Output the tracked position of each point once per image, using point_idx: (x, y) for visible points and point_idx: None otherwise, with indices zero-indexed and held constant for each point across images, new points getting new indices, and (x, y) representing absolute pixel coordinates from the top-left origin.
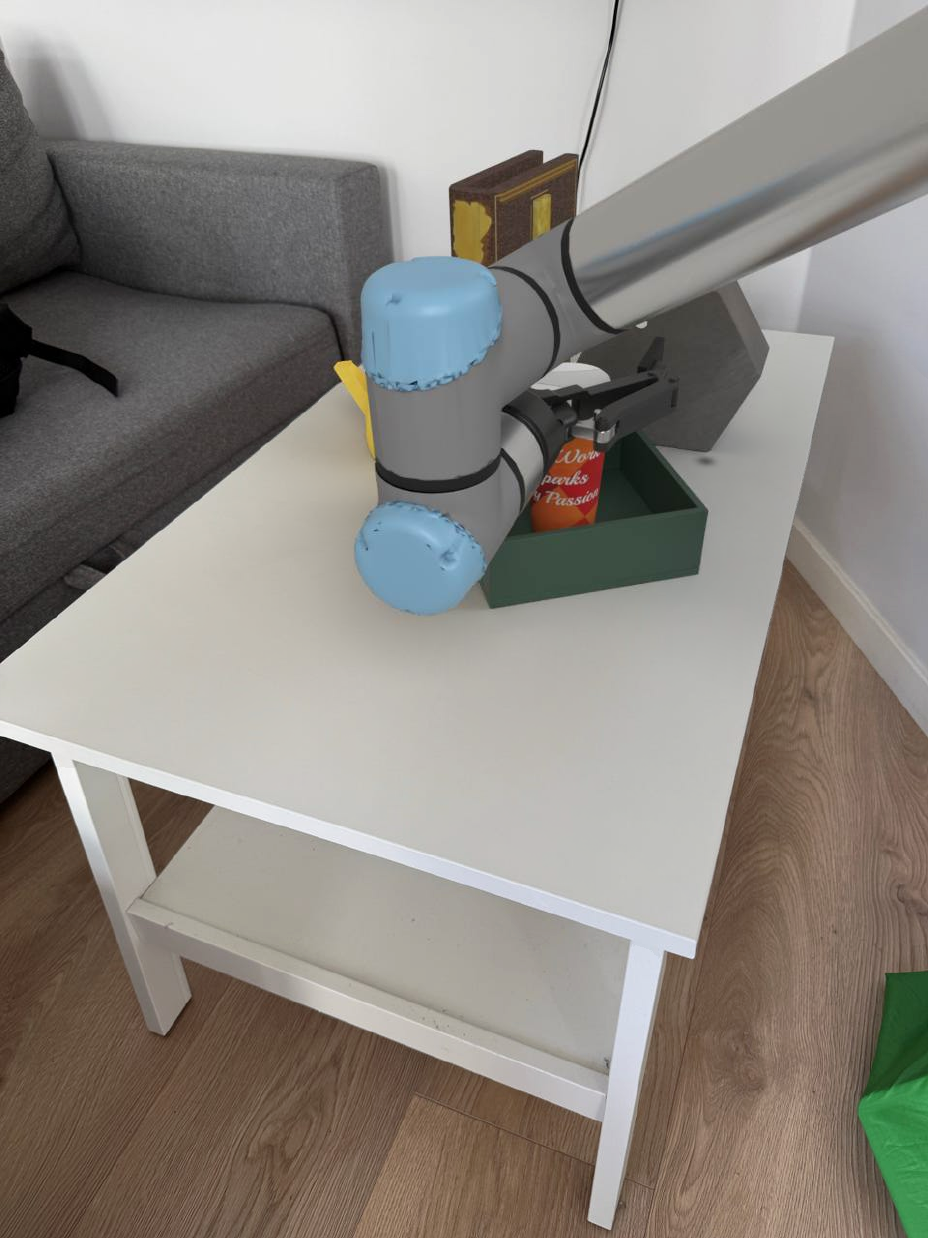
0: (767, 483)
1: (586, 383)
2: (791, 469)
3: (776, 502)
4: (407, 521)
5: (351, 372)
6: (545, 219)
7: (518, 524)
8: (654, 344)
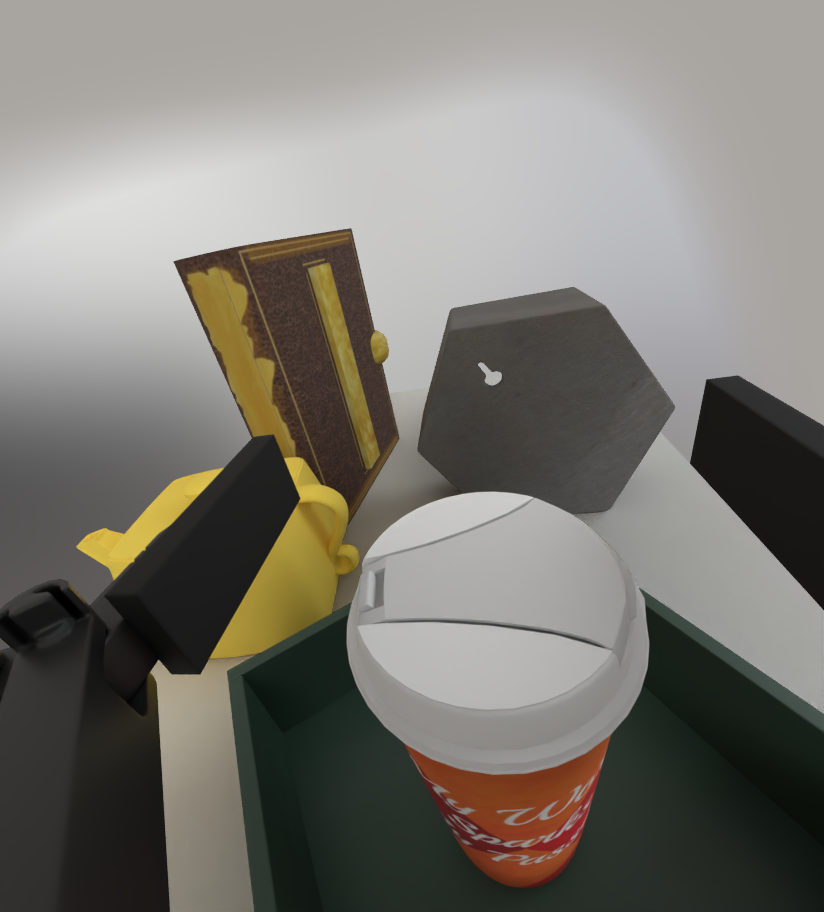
0: (727, 544)
1: (544, 576)
2: (728, 510)
3: (781, 581)
4: None
5: (105, 547)
6: (331, 292)
7: (421, 821)
8: (758, 405)
